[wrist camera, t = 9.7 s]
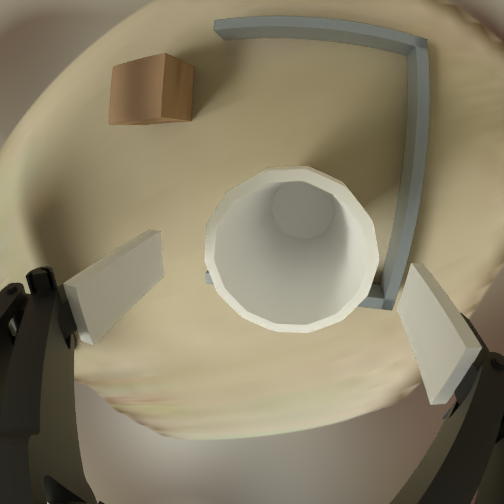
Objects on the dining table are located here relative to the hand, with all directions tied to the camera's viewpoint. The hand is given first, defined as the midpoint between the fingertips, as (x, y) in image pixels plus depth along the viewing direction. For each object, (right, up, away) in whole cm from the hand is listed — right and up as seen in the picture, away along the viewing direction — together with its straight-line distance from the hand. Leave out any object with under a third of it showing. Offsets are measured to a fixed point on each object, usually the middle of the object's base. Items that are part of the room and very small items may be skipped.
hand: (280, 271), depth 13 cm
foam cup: (+4, +5, +13) cm, 14 cm away
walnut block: (-10, +17, +11) cm, 23 cm away
